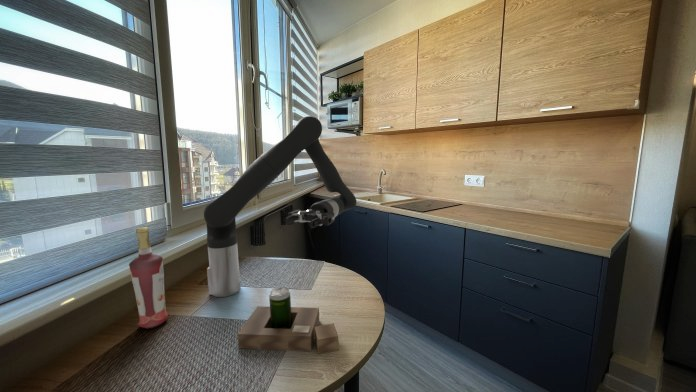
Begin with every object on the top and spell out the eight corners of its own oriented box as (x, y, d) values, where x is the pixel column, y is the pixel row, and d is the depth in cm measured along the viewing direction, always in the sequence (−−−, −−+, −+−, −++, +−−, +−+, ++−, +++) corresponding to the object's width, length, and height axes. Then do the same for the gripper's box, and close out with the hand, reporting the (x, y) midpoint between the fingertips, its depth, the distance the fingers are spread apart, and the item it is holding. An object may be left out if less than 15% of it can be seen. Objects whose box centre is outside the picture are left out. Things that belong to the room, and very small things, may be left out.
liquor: (167, 326, 72) (156, 229, 68) (134, 335, 69) (120, 233, 65) (171, 313, 79) (160, 223, 75) (141, 320, 75) (128, 227, 71)
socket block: (238, 348, 64) (237, 333, 63) (258, 318, 76) (257, 305, 75) (310, 351, 63) (310, 335, 62) (319, 320, 74) (318, 307, 74)
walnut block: (318, 355, 62) (317, 339, 61) (315, 341, 66) (314, 326, 66) (338, 350, 63) (338, 335, 62) (333, 337, 68) (333, 323, 67)
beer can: (294, 336, 68) (292, 293, 66) (273, 342, 66) (270, 298, 64) (289, 324, 73) (287, 284, 71) (269, 330, 71) (267, 289, 69)
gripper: (306, 199, 92) (278, 208, 77) (343, 202, 87) (320, 212, 72) (307, 219, 93) (279, 232, 79) (343, 223, 88) (320, 238, 73)
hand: (298, 223), depth 75 cm, fingers open, 8 cm apart
